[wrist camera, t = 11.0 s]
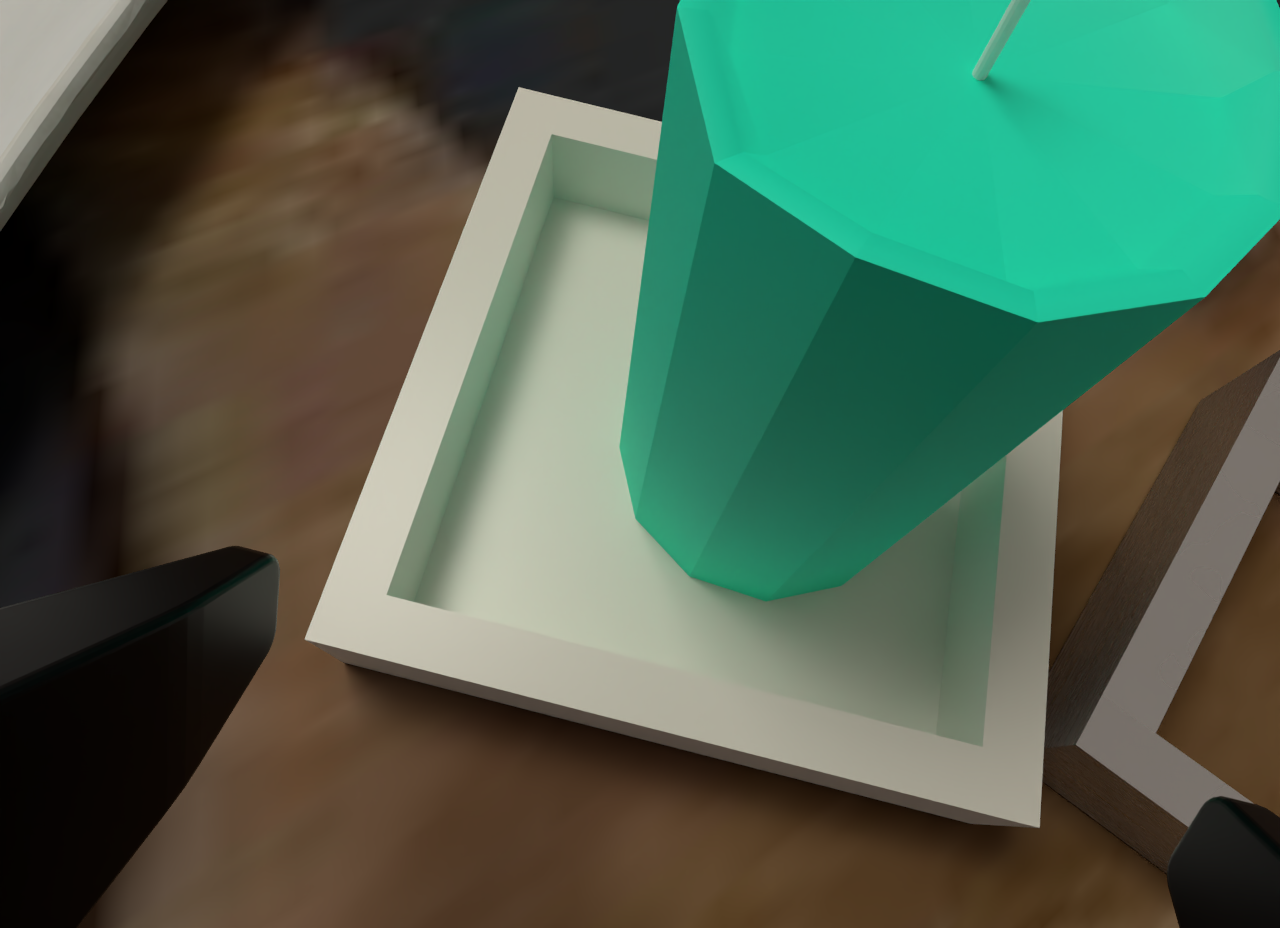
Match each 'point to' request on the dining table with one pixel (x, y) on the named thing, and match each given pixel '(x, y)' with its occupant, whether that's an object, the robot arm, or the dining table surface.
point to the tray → (636, 563)
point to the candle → (918, 251)
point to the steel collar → (1161, 623)
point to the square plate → (55, 76)
